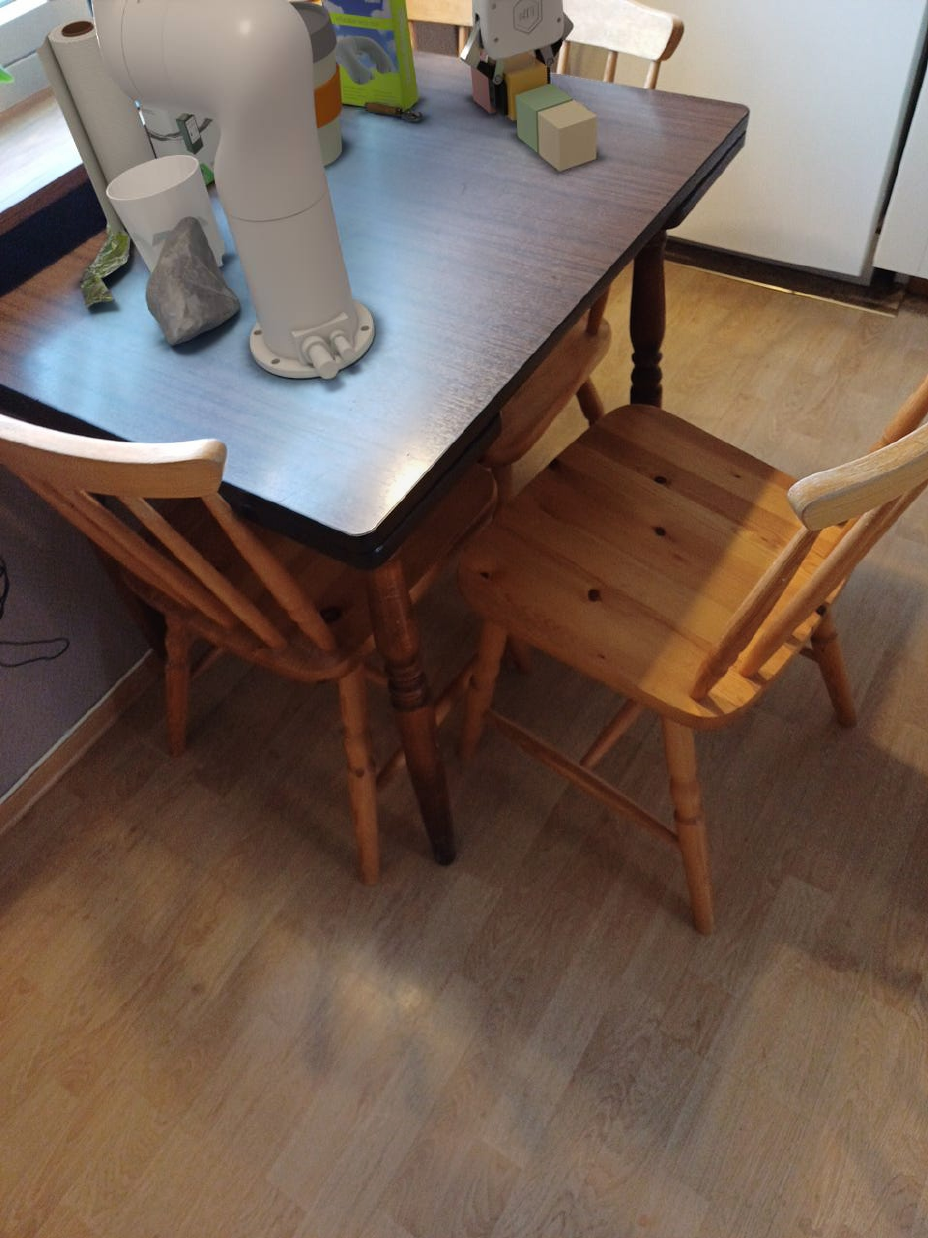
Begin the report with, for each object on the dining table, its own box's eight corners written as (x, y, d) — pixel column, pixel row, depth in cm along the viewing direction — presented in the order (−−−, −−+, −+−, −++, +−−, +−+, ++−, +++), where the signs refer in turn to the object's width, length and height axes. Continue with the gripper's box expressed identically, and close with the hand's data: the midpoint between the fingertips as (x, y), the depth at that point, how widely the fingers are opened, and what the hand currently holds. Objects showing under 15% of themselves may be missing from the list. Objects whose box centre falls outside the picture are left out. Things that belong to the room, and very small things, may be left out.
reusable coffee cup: (261, 187, 116) (225, 55, 104) (255, 139, 123) (221, 11, 111) (362, 167, 116) (338, 34, 104) (350, 121, 124) (326, -8, 112)
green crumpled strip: (113, 299, 100) (117, 321, 102) (169, 192, 117) (172, 212, 119) (52, 292, 100) (57, 314, 102) (117, 185, 116) (120, 205, 118)
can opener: (364, 112, 125) (362, 103, 124) (374, 104, 126) (373, 95, 125) (419, 125, 121) (418, 116, 120) (429, 117, 122) (428, 108, 121)
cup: (251, 251, 105) (217, 161, 98) (182, 296, 101) (141, 205, 93) (198, 237, 110) (162, 150, 103) (131, 279, 106) (88, 192, 99)
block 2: (573, 140, 115) (572, 97, 111) (537, 152, 114) (535, 110, 110) (552, 124, 118) (552, 82, 114) (517, 136, 117) (515, 94, 113)
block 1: (524, 102, 122) (522, 61, 119) (490, 113, 121) (487, 72, 118) (506, 88, 125) (504, 47, 121) (473, 99, 124) (469, 58, 120)
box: (338, 104, 127) (309, -45, 113) (353, 90, 129) (327, -58, 116) (406, 114, 124) (385, -39, 110) (421, 100, 126) (402, -52, 112)
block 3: (596, 158, 112) (597, 115, 108) (559, 171, 111) (558, 128, 107) (575, 142, 115) (575, 99, 111) (539, 154, 114) (537, 111, 110)
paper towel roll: (175, 206, 114) (105, 9, 97) (179, 231, 111) (107, 32, 94) (116, 220, 114) (35, 24, 97) (118, 246, 110) (34, 47, 93)
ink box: (193, 196, 116) (159, 95, 107) (165, 187, 118) (129, 88, 109) (240, 163, 120) (212, 63, 110) (212, 155, 122) (182, 56, 112)
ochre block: (548, 108, 118) (547, 65, 114) (512, 120, 117) (510, 77, 113) (528, 93, 121) (527, 51, 117) (494, 105, 120) (491, 63, 116)
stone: (192, 310, 106) (109, 281, 98) (241, 228, 101) (157, 191, 93) (231, 382, 101) (146, 357, 93) (284, 299, 95) (200, 266, 88)
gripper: (458, -35, 100) (473, 137, 115) (597, -77, 104) (595, 96, 118) (428, -55, 105) (447, 114, 119) (563, -94, 108) (565, 74, 122)
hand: (520, 103), depth 118 cm, fingers closed on ochre block, 5 cm apart
